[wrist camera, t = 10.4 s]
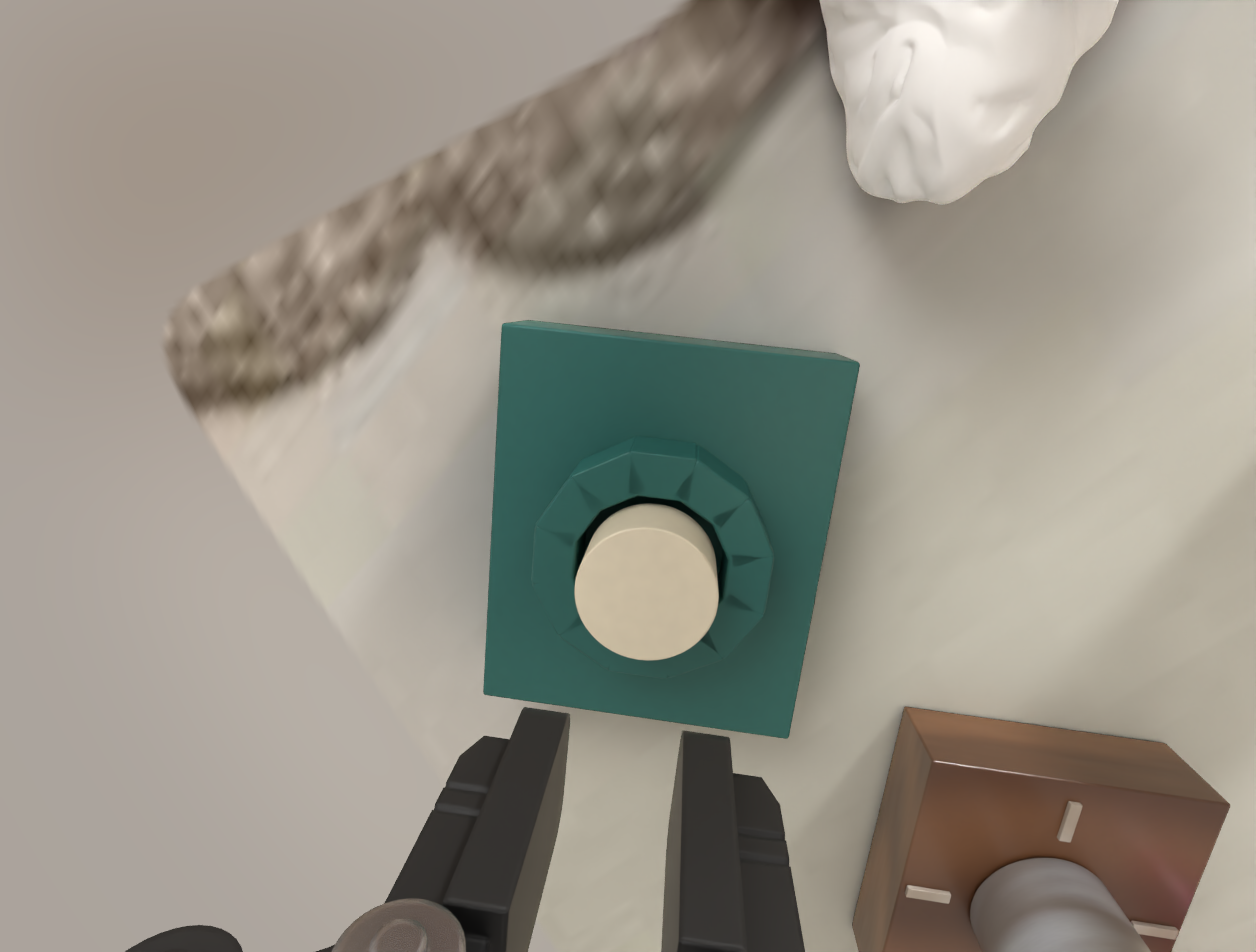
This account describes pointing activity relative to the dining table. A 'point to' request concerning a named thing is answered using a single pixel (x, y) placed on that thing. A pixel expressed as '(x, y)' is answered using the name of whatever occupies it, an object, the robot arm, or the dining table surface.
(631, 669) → the button base
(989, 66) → the bust
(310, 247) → the dining table surface
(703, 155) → the dining table surface
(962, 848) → the knob panel
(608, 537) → the cream round button
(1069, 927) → the dial
